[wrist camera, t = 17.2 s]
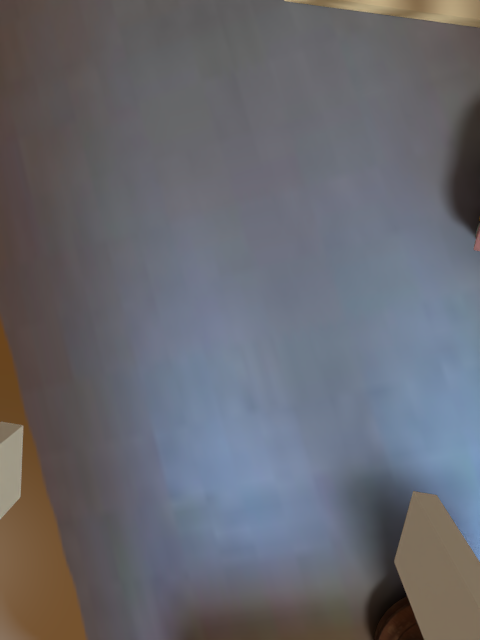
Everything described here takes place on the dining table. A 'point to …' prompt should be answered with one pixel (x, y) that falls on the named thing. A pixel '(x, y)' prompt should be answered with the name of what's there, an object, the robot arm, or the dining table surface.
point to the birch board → (412, 9)
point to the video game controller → (477, 239)
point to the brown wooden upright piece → (399, 623)
